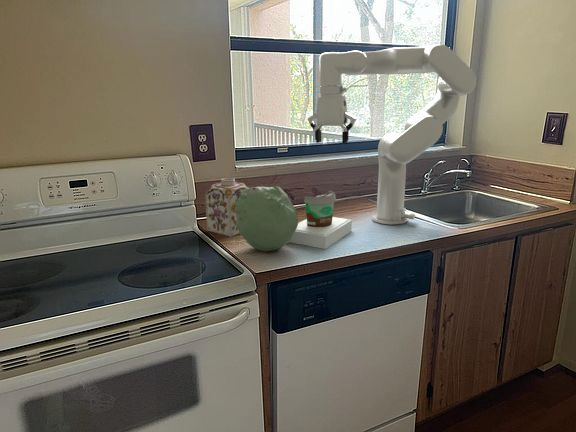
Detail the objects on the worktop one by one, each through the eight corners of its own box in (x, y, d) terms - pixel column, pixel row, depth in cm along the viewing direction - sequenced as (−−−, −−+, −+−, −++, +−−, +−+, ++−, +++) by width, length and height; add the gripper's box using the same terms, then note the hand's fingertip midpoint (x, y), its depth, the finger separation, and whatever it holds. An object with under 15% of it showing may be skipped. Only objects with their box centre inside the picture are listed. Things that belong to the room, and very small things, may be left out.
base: (351, 231, 154) (351, 219, 153) (325, 248, 138) (325, 235, 137) (314, 225, 161) (315, 213, 160) (286, 241, 145) (285, 228, 143)
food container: (318, 231, 141) (318, 199, 138) (303, 226, 145) (304, 196, 142) (343, 222, 149) (344, 193, 146) (329, 219, 153) (329, 190, 150)
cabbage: (305, 255, 133) (305, 188, 127) (241, 262, 128) (239, 193, 122) (289, 238, 147) (289, 178, 142) (232, 244, 142) (229, 182, 137)
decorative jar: (206, 231, 156) (203, 179, 151) (229, 223, 165) (227, 174, 160) (231, 237, 149) (228, 184, 144) (254, 228, 158) (253, 178, 153)
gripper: (359, 90, 151) (359, 142, 156) (312, 91, 159) (313, 140, 164) (352, 91, 145) (351, 144, 150) (303, 92, 152) (304, 143, 157)
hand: (331, 142), depth 157 cm, fingers open, 9 cm apart
